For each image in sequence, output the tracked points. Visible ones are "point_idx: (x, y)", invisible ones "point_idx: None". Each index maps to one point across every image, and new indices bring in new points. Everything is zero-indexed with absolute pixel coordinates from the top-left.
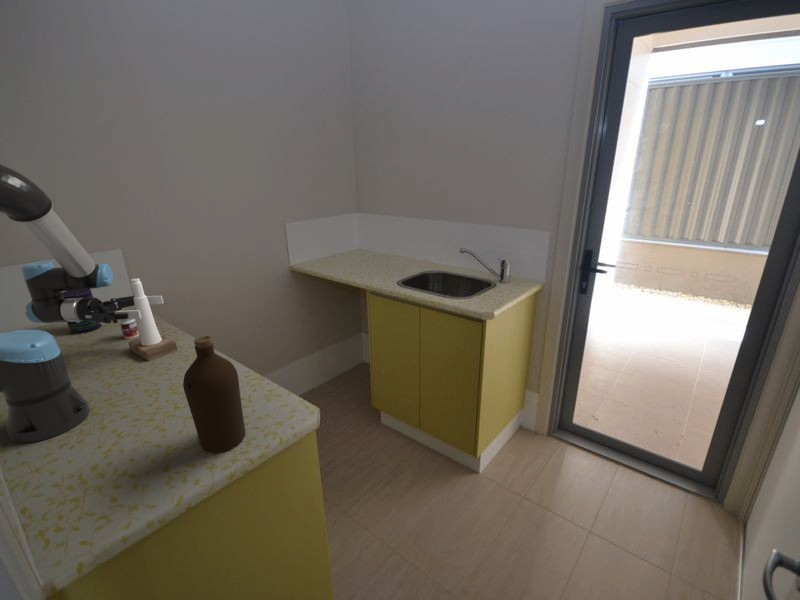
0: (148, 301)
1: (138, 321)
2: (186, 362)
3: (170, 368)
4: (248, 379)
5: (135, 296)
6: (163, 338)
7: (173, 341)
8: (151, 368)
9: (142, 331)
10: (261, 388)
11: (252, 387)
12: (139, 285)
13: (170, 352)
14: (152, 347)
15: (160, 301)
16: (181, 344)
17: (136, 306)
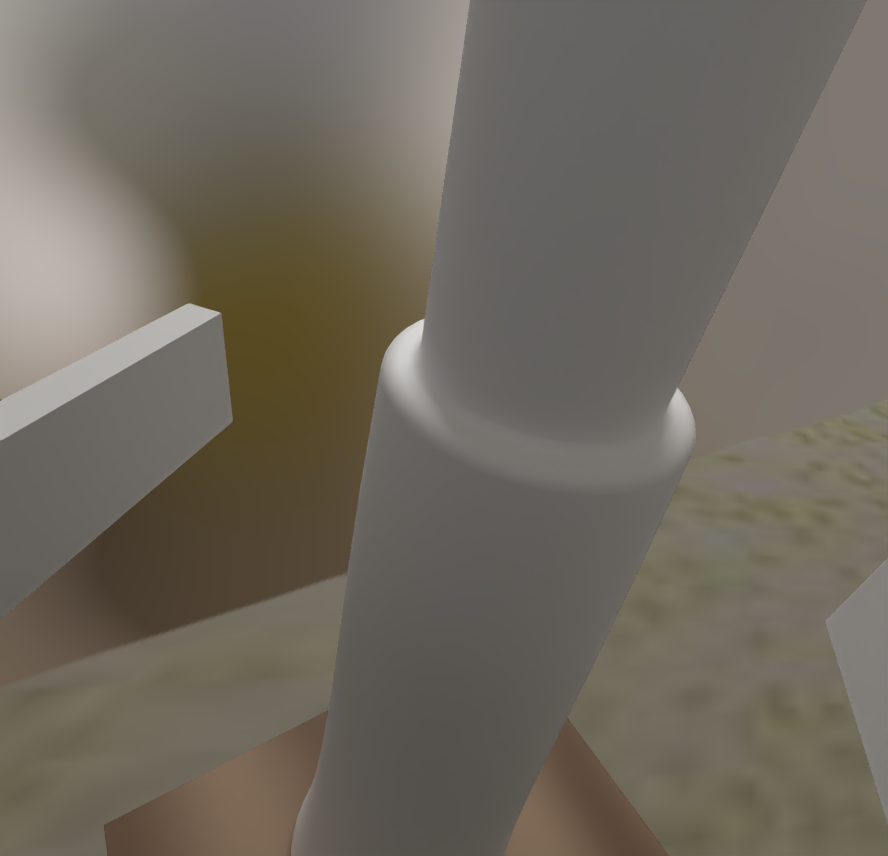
0: (48, 518)
1: (499, 821)
2: (683, 611)
3: (762, 695)
4: (826, 439)
5: (673, 387)
6: None
7: None
8: (771, 837)
9: (507, 844)
10: (875, 425)
11: (875, 439)
12: None
13: None
14: (553, 813)
15: (212, 401)
16: None
17: (612, 616)
